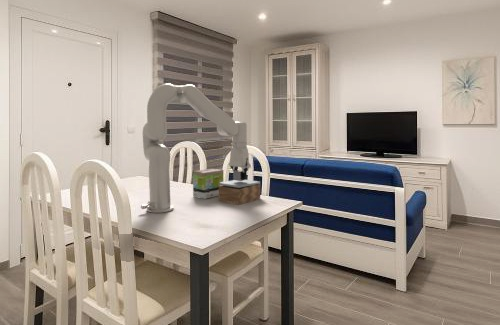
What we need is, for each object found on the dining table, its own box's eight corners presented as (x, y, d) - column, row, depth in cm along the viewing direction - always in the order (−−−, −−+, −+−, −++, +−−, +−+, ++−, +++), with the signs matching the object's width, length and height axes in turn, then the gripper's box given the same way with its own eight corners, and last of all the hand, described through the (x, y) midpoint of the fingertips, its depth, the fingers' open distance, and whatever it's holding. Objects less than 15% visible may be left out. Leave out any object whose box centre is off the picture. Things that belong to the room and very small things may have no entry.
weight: (240, 181, 183) (240, 171, 183) (233, 180, 186) (233, 170, 186) (246, 179, 187) (246, 170, 186) (239, 178, 190) (239, 169, 190)
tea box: (205, 199, 189) (205, 172, 187) (192, 197, 195) (192, 170, 193) (224, 194, 201) (223, 169, 199) (211, 192, 207) (211, 167, 205)
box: (238, 204, 177) (238, 189, 176) (218, 200, 186) (218, 186, 185) (260, 198, 191) (260, 184, 190) (240, 194, 199) (240, 181, 198)
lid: (238, 187, 176) (238, 185, 176) (218, 184, 184) (218, 182, 184) (260, 183, 190) (260, 181, 189) (240, 180, 198) (240, 179, 198)
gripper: (223, 144, 187) (223, 178, 189) (247, 146, 176) (247, 181, 178) (232, 144, 193) (232, 176, 195) (256, 145, 182) (256, 179, 184)
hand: (239, 178), depth 187 cm, fingers closed on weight, 5 cm apart
